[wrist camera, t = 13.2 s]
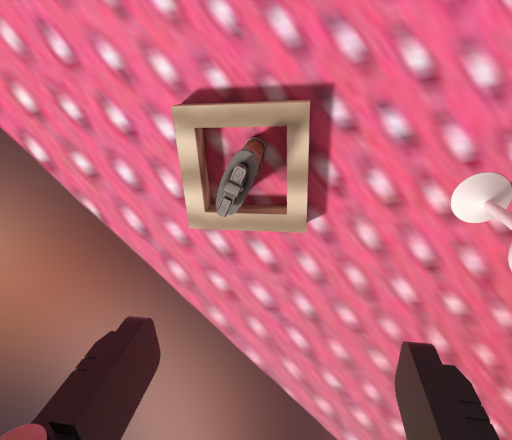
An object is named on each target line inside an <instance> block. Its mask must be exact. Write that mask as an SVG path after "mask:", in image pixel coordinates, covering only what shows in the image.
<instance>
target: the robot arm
mask: <svg viewBox="0 0 512 440" xmlns="http://www.w3.org/2000/svg"><path fill="white" fill-rule="evenodd" d="M159 361H160V348H159V343H158V339H157V335H156V331H155V326H154V322H153V320H152V319H151V318H142V317H131V316H130V317H127V318H126V319H125V320H124V321H123V323H122V324H121V325H120V327H119V328H118V329H117V330H116V331H110V332H109V333H108V334H106V335H105V336H104V337H103V338H101V339H100V340H98V341H97V342H96V343H95V344H94V345H93V347H92V348H91V349H90V350H89V352H88V353H87V354H86V355H85V358H84V359H82V361H81V362H80V363H79V364H78V365H77V367H76V368H75V371H73V372H72V373H71V374H70V375H69V377H68V378H67V379H66V380H65V382H64V383H63V384H62V385H61V387H60V388H59V389H58V391H57V392H56V393H55V394H54V396H53V397H52V398H51V399H50V401H49V402H48V403H47V404H46V406H45V407H44V408H43V410H42V411H41V412H40V413H39V414H38V416H37V417H36V418H35V419H34V420H33V421H32V422H31V423H30V424H26V425H23V426H20V427H17V428H15V429H13V430H11V431H9V432H8V433H6V434H5V435H3V436H2V437H1V438H0V440H121V438H122V436H123V434H124V432H125V430H126V428H127V426H128V424H129V422H130V420H131V419H132V417H133V415H134V413H135V411H136V409H137V407H138V405H139V403H140V401H141V399H142V397H143V395H144V393H145V392H146V390H147V388H148V386H149V384H150V382H151V380H152V378H153V376H154V374H155V372H156V370H157V368H158V365H159ZM395 392H396V398H397V402H398V406H399V410H400V414H401V418H402V422H403V425H404V429H405V433H406V437H407V440H500V439H499V437H498V435H497V433H496V431H495V429H494V427H493V425H492V424H490V419H489V417H488V415H487V413H486V412H485V410H484V408H483V407H482V406H481V402H480V400H479V398H478V396H477V394H476V392H475V390H474V388H473V386H472V384H471V383H470V381H469V380H468V379H467V378H466V377H465V376H464V375H463V374H462V373H461V372H460V371H459V370H458V369H457V368H456V367H455V366H453V365H443V364H442V362H441V360H440V358H439V355H438V353H437V351H436V349H435V347H434V346H433V345H432V344H427V343H415V342H403V344H402V347H401V352H400V356H399V361H398V366H397V370H396V375H395Z"/></svg>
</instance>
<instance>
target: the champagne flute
mask: <svg viewBox="0 0 512 440" xmlns="http://www.w3.org/2000/svg"><path fill="white" fill-rule="evenodd" d="M511 199H512V186H511V184H510V182H509V181H508V179H507V178H505V177H504V176H502V175H500V174H497V173H492V172H485V173H479V174H476V175H473V176H471V177H469V178H467V179H466V180H464V181H463V182H462V183H461V184H460V185H458V187H457V188H456V189H455V191H454V193H453V195H452V198H451V208H452V211H453V213H454V214H455V215H456V216H457V217H458V218H459V219H461V220H463V221H465V222H469V223H482V222H486V221H489V220H491V219H494V218H495V217H496V218H497V219H499V220H500V221H501V222H503V223H504V224H505V225H506V226H508V227H509V228H510V229H511V230H512V214H511V213H509V212H508V211H507V210H505V209H506V208H507V207H508V205H509V204H510V202H511ZM508 261H509V266H510V268H511V270H512V243H511V246H510V249H509V254H508Z"/></svg>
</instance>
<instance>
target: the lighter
mask: <svg viewBox="0 0 512 440" xmlns="http://www.w3.org/2000/svg"><path fill="white" fill-rule="evenodd" d="M265 152H266V144H265V142H264V141H263V140H262V139H260V138H258V137H252V138H250V139H249V140H248V141H247V142H246V144H245V145H244V147H243V148H242V150H239V151H238V152H237V153H236V154H235V155H234V157H233V158H232V160H231V161H230V163H229V164H228V166H227V168H226V170H225V172H224V174H223V176H222V178H221V182H220V185H219V188H218V192H217V198H216V208H217V209H218V210H217V215H218V216H220V217H222V218H225V217H226V216H227V215H233V214H234V213H236V211H237V210H238V209H239V207H240V206H241V205H242V203H243V202H244V200H245V198H246V196H247V194H248V193H249V191H250V189H251V186H252V184H253V183H254V181H255V179H256V177H257V175H258V174H259V172H260V169H261V166H262V163H263V161H264V157H265Z"/></svg>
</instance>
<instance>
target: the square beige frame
mask: <svg viewBox="0 0 512 440" xmlns="http://www.w3.org/2000/svg"><path fill="white" fill-rule="evenodd" d="M171 109H172V115H173V122H174V128H175V135H176V142H177V148H178V155H179V162H180V168H181V175H182V182H183V188H184V195H185V201H186V208H187V215H188V221H189V228H193V229H220V230H248V231H275V232H303V233H306V225H307V191H308V158H309V124H310V100H283V101H253V102H222V103H192V104H178V105H174V106H171ZM269 126H287V206H284V205H241V206H240V207H239V209H238V210H237V211H236V213H234V214H233V215H227V216H226V217H225V218H222V217H220V216H218V215H217V210H218V209H217V208H216V204H211V197H210V188H209V180H208V171H207V162H206V153H205V144H204V135H203V128H217V127H269Z"/></svg>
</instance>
